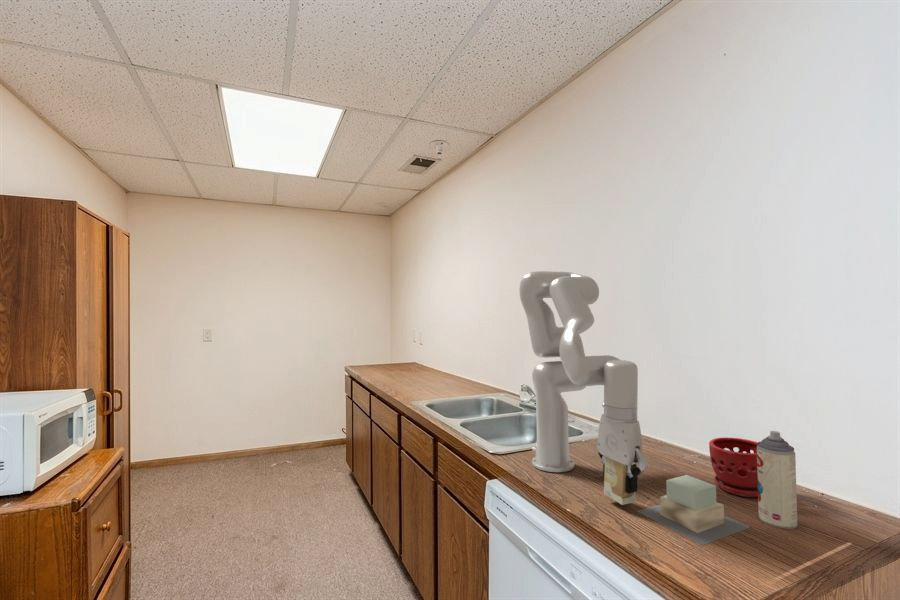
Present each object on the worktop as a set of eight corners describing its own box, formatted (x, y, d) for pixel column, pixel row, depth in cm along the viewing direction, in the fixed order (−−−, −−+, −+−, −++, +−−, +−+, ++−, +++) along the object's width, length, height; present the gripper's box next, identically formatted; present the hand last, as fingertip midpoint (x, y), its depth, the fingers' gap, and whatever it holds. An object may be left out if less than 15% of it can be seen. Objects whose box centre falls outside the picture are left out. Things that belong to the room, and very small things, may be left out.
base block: (660, 514, 97) (659, 496, 98) (686, 506, 101) (685, 489, 101) (697, 532, 89) (696, 513, 89) (724, 523, 93) (723, 505, 93)
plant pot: (707, 477, 120) (706, 434, 120) (764, 485, 114) (763, 440, 114) (713, 495, 108) (711, 448, 108) (777, 505, 102) (775, 455, 102)
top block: (666, 497, 97) (666, 480, 97) (687, 491, 100) (686, 474, 100) (695, 510, 91) (695, 491, 91) (716, 504, 94) (715, 485, 94)
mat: (636, 512, 99) (636, 511, 99) (682, 499, 106) (682, 497, 106) (702, 547, 85) (702, 545, 85) (751, 528, 91) (750, 527, 91)
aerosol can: (760, 512, 99) (757, 426, 99) (798, 521, 94) (795, 431, 95) (757, 523, 94) (754, 432, 94) (797, 534, 89) (794, 438, 89)
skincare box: (603, 494, 105) (603, 445, 104) (616, 491, 106) (616, 442, 106) (623, 506, 99) (623, 454, 99) (637, 502, 100) (637, 451, 100)
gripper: (583, 405, 108) (582, 474, 109) (638, 424, 93) (638, 505, 93) (605, 402, 112) (604, 469, 112) (662, 419, 96) (661, 498, 96)
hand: (619, 485), depth 103 cm, fingers closed on skincare box, 6 cm apart
